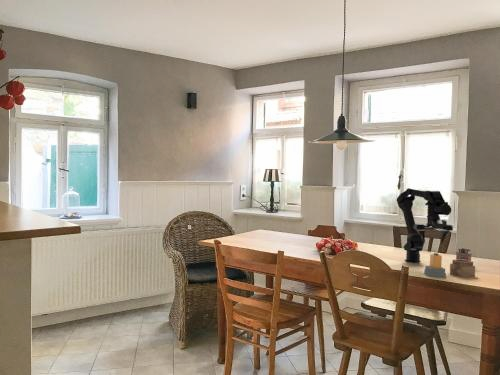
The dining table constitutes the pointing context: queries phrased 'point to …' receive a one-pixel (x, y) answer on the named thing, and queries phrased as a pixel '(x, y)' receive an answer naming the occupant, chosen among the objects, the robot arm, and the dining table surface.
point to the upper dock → (462, 268)
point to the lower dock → (435, 271)
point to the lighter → (463, 254)
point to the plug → (435, 260)
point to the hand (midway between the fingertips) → (432, 243)
